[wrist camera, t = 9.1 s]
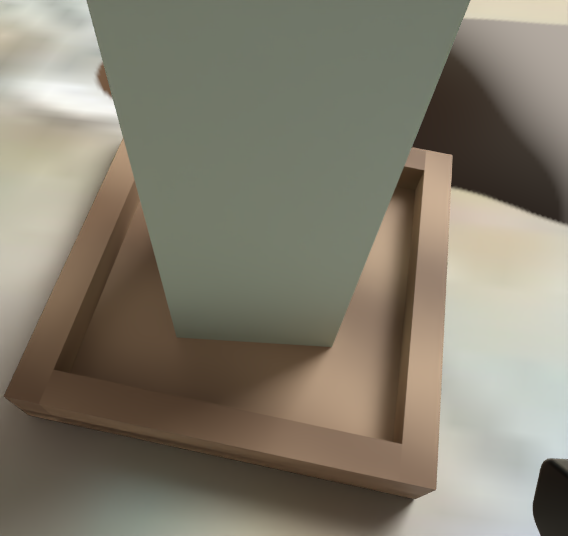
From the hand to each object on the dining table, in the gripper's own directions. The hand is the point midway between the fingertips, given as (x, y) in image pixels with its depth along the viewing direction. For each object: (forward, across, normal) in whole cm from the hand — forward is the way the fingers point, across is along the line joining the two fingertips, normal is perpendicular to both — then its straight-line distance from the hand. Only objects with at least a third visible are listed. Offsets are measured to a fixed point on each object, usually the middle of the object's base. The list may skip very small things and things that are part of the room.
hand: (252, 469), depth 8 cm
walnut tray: (+11, 0, 0) cm, 11 cm away
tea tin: (+11, 0, 0) cm, 11 cm away
